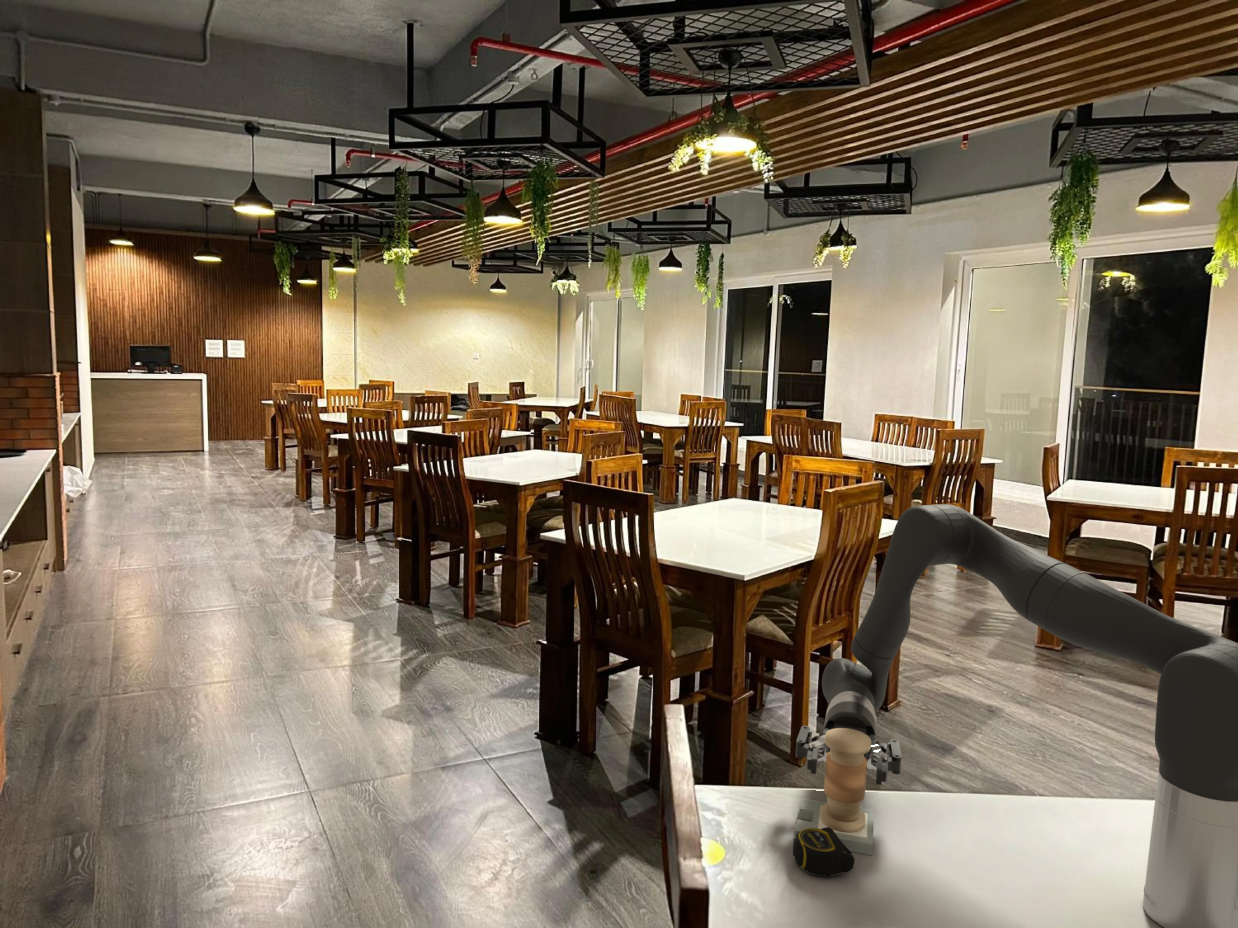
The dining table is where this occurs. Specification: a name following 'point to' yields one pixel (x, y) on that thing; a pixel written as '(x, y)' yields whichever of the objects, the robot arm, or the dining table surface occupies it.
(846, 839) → the plate
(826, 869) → the tape measure
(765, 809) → the dining table surface
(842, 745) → the bobbin
